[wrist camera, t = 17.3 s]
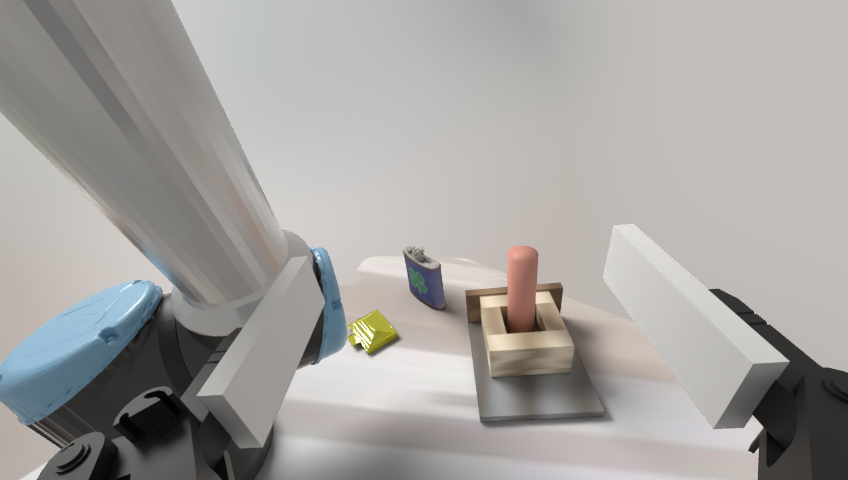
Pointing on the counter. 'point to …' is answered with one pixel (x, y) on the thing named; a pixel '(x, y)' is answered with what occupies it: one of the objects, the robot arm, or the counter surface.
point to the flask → (424, 278)
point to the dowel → (522, 288)
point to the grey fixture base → (527, 377)
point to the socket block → (525, 339)
